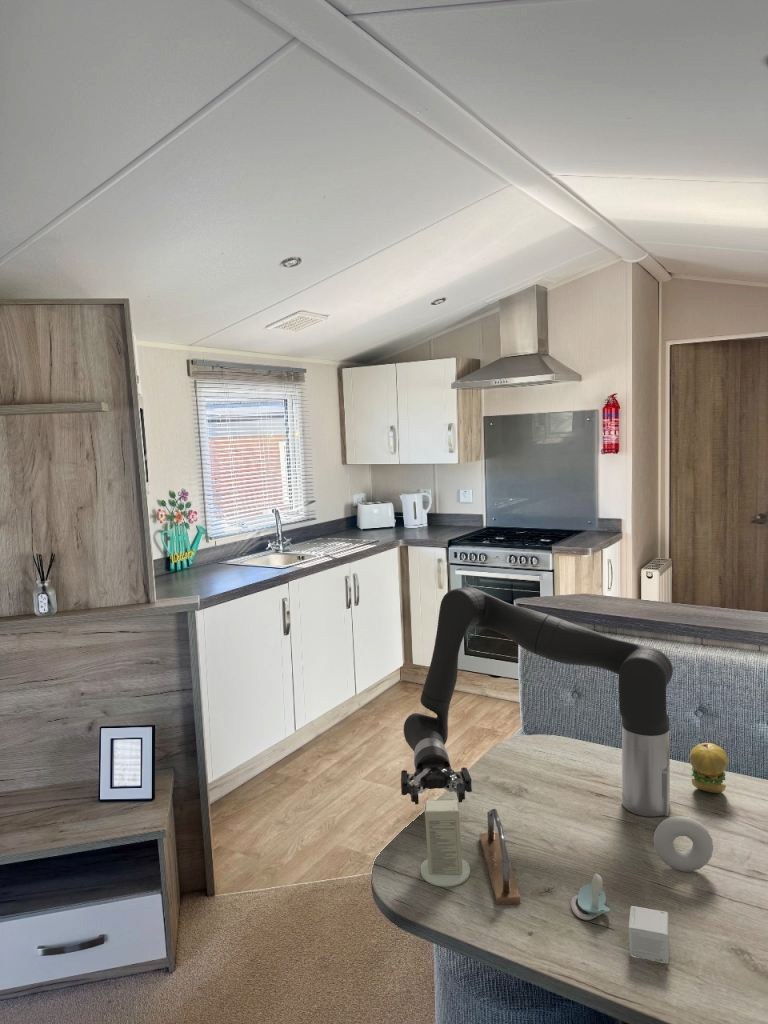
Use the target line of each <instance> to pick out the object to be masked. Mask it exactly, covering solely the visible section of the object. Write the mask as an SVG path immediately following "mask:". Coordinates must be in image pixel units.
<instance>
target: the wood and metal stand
mask: <svg viewBox="0 0 768 1024" xmlns="http://www.w3.org/2000/svg"><path fill="white" fill-rule="evenodd" d="M495 825H496V828H497V832H495ZM478 834H479V842H480V847H481V850H482V853H483V857H484V861H485V864H486V869H487V873H488V876H489V880H490V883H491V887H492V890H493V894H494V895H493V896H494V897H495V903H496V905H497V906H498V905H514V904H515V905H517V904H519V905H520V904H521V903H522V902H521V894H520V891H519V889H518V885H517V882H516V881H517V880H516V879H515V876H514V873H513V870H512V866H511V863H510V860H509V856H508V850H507V845H506V839H505V834H504V827H503V825H502V822H501V819H500V816H499V814H498V811H497V809H496V808H492V809H490V810H488V811H487V832H486V833H485V832H484V833H478Z"/></svg>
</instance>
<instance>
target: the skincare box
mask: <svg viewBox="0 0 768 1024" xmlns="http://www.w3.org/2000/svg"><path fill="white" fill-rule="evenodd" d="M459 804H460V802H458V798H457V799H426V800H425V802H424V821H425V824H424V825H425V836H426V852H427V853H426V854H427V859H428V870H429V874H430V875H443V874H462V859H463V857H462V856H463V855H462V854H463V852H462V851H463V850H462V836H461V835H462V833H461V821H460V820H461V818H460V807H459Z"/></svg>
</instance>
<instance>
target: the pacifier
mask: <svg viewBox="0 0 768 1024" xmlns="http://www.w3.org/2000/svg"><path fill="white" fill-rule="evenodd" d="M603 888H604V881H603V878H602V876H601V875H600V874H598V873H594V875H593V876H592V881H591V883H587V884H585V885H583V886H582V887H580V889H579V891H578V893H577V894H576V895H574V896H573V897H572V899H571V900H570V907H571V910H572V911H573V913H574V915H575V916H577V917H578V918H579V919H582V920H584V921H591V920H593V919H595V918H596V917H600V915H602V914H608V913H610V912H611V909H610V907H608V906H606V905H605V904H606V901H607V895H606V893H605V891H604V889H603ZM577 904H578V906H579V908H580V909H581V910H583V911H585V912H587V914H586V913H583V912H582V911H580V910H579V909H578V907H577Z"/></svg>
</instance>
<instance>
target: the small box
mask: <svg viewBox="0 0 768 1024" xmlns="http://www.w3.org/2000/svg"><path fill="white" fill-rule="evenodd" d="M628 919H629V921H628V945H629V946H628V949H629V950H628V951H629V952H628V953H629V954H630V955H633V956H636V957H639V958H638V959H640V958H645V959H648V960H647V961H649V960H654V961H657V962H656V963H659V962H663V963H667V964H666V965H668V964H669V959H670V956H669V955H670V930H669V929H670V928H669V924H670V923H669V912H667V911H663V910H658V909H651V908H646V907H641V906H635V905H631V906H630V909H629V917H628ZM630 955H629V956H630ZM645 959H644V960H645ZM654 961H653V962H654ZM663 963H662V964H663Z"/></svg>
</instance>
